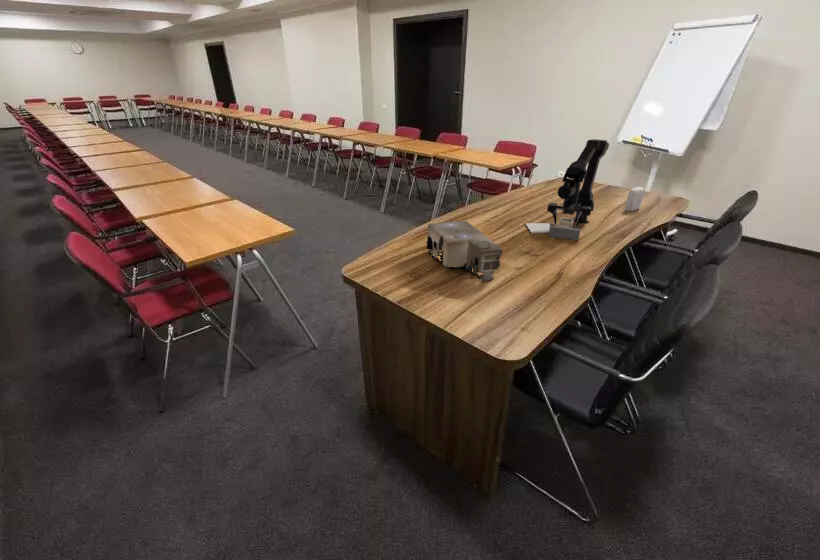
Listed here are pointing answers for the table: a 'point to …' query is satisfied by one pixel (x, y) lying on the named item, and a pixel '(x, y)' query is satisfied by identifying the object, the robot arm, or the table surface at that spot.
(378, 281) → the table surface
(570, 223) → the letter cube
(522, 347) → the table surface
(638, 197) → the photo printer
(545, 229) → the mat
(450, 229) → the projector
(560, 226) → the screen
